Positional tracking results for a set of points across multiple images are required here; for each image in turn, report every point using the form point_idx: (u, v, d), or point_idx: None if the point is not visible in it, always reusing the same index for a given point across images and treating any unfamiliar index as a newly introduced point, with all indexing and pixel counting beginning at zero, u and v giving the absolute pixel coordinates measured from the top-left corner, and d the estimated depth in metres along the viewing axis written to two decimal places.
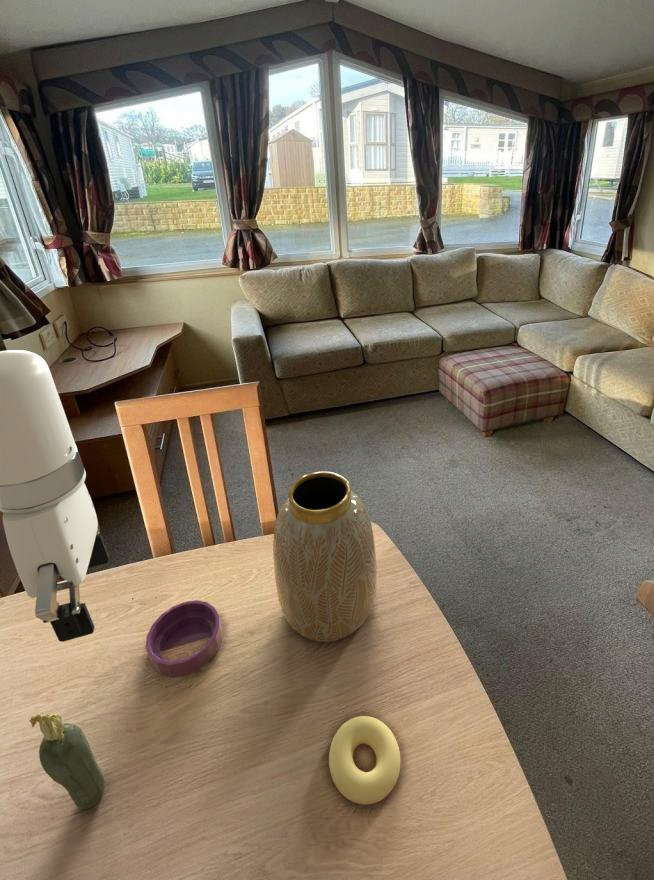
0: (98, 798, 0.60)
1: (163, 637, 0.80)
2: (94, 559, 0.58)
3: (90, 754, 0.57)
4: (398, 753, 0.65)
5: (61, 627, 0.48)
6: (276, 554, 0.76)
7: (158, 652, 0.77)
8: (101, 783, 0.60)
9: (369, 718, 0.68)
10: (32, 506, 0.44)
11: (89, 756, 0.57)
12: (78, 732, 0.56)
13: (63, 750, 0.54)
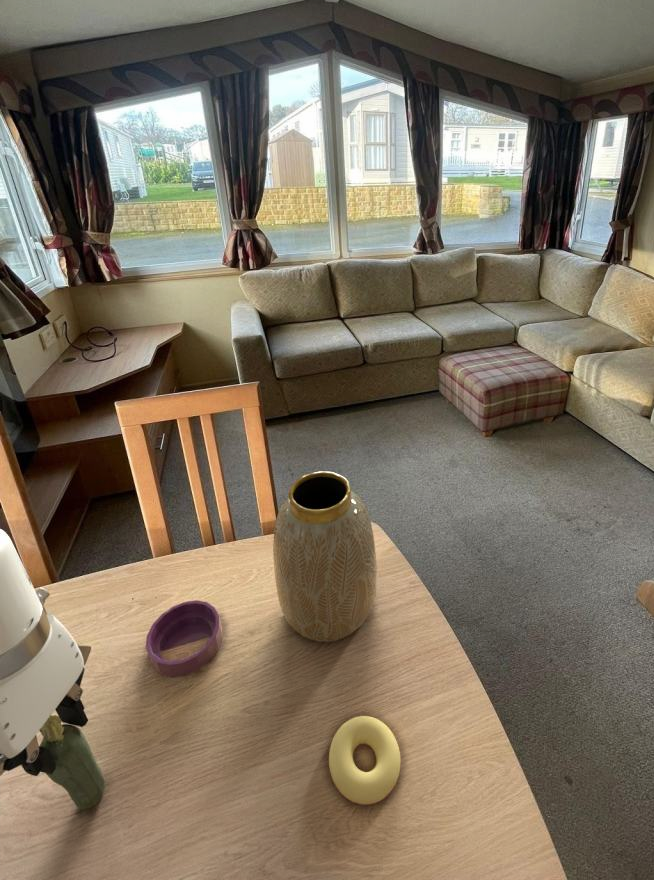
0: (98, 798, 0.60)
1: (163, 637, 0.80)
2: (72, 720, 0.56)
3: (90, 755, 0.57)
4: (398, 753, 0.65)
5: (22, 764, 0.51)
6: (276, 554, 0.76)
7: (158, 652, 0.77)
8: (101, 783, 0.60)
9: (369, 718, 0.68)
10: None
11: (89, 757, 0.57)
12: (77, 733, 0.56)
13: (62, 751, 0.54)
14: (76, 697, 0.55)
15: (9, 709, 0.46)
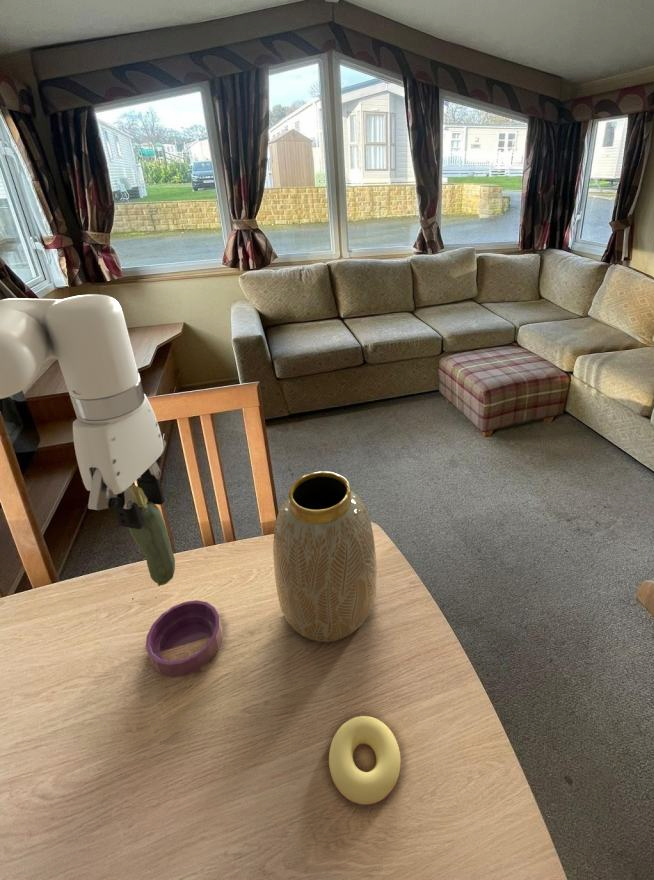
0: (170, 575, 0.72)
1: (163, 637, 0.80)
2: (152, 498, 0.68)
3: (166, 530, 0.69)
4: (398, 753, 0.65)
5: (118, 514, 0.62)
6: (276, 554, 0.76)
7: (158, 652, 0.77)
8: (173, 562, 0.71)
9: (369, 718, 0.68)
10: (90, 419, 0.55)
11: (165, 531, 0.68)
12: (157, 507, 0.67)
13: (147, 515, 0.65)
14: (156, 475, 0.67)
15: (116, 448, 0.57)
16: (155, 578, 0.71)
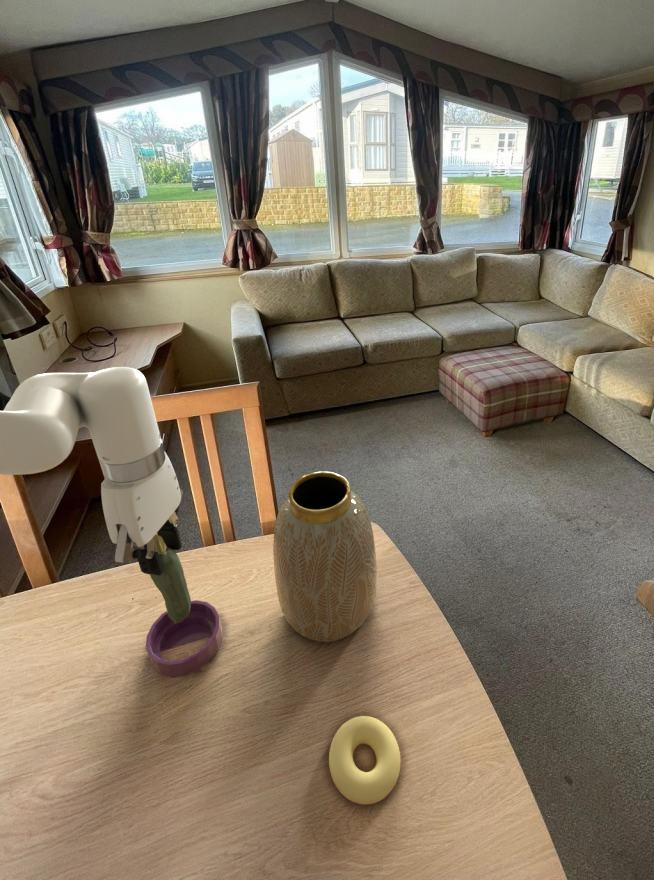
0: (187, 613, 0.77)
1: (163, 637, 0.80)
2: (170, 544, 0.73)
3: (183, 573, 0.74)
4: (398, 753, 0.65)
5: (140, 563, 0.68)
6: (276, 554, 0.76)
7: (158, 652, 0.77)
8: (189, 601, 0.77)
9: (369, 718, 0.68)
10: (117, 481, 0.61)
11: (183, 574, 0.74)
12: (175, 553, 0.72)
13: (166, 562, 0.70)
14: (175, 524, 0.72)
15: (141, 506, 0.62)
16: (172, 617, 0.76)
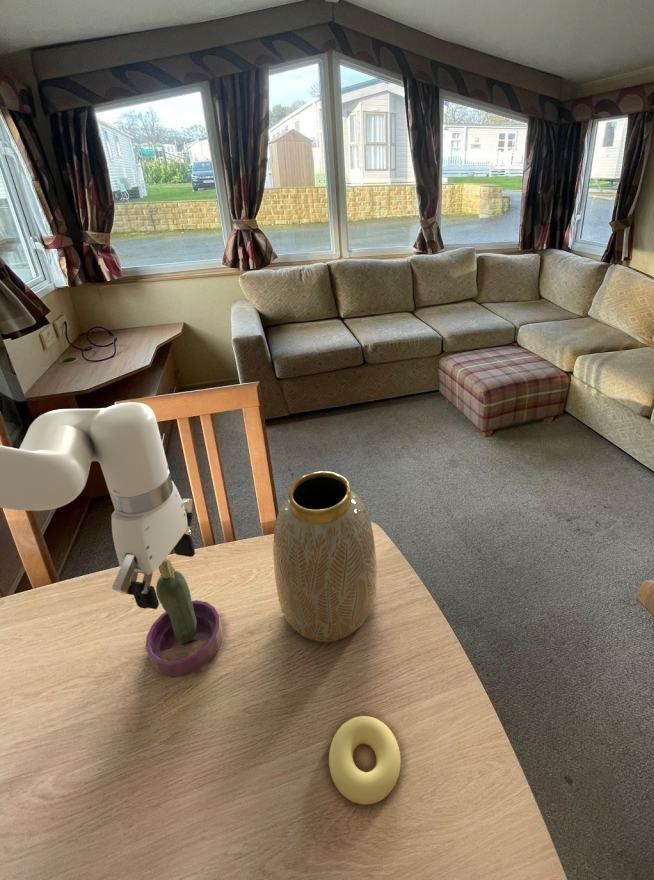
0: (193, 635, 0.79)
1: (163, 637, 0.80)
2: (184, 551, 0.77)
3: (190, 596, 0.76)
4: (398, 753, 0.65)
5: (136, 597, 0.67)
6: (276, 554, 0.76)
7: (158, 652, 0.77)
8: (195, 623, 0.79)
9: (369, 718, 0.68)
10: (127, 513, 0.63)
11: (189, 597, 0.76)
12: (183, 576, 0.75)
13: (174, 585, 0.73)
14: (189, 532, 0.76)
15: (149, 536, 0.65)
16: (179, 638, 0.78)
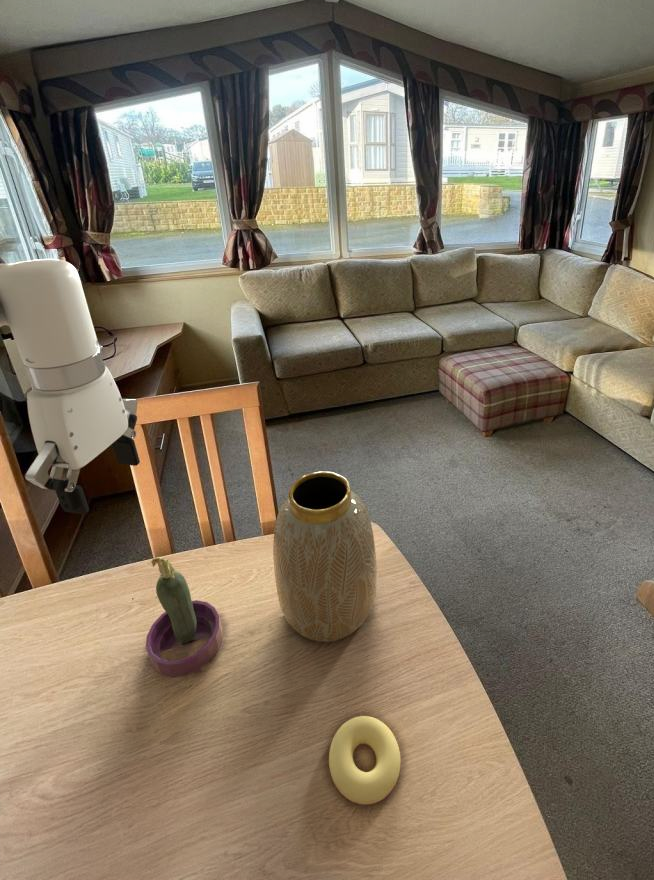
0: (193, 635, 0.79)
1: (163, 637, 0.80)
2: (127, 458, 0.67)
3: (190, 596, 0.76)
4: (398, 753, 0.65)
5: (60, 498, 0.57)
6: (276, 554, 0.76)
7: (158, 652, 0.77)
8: (195, 623, 0.79)
9: (369, 718, 0.68)
10: (45, 390, 0.53)
11: (189, 597, 0.76)
12: (183, 576, 0.75)
13: (174, 585, 0.73)
14: (131, 435, 0.66)
15: (73, 421, 0.55)
16: (179, 638, 0.78)
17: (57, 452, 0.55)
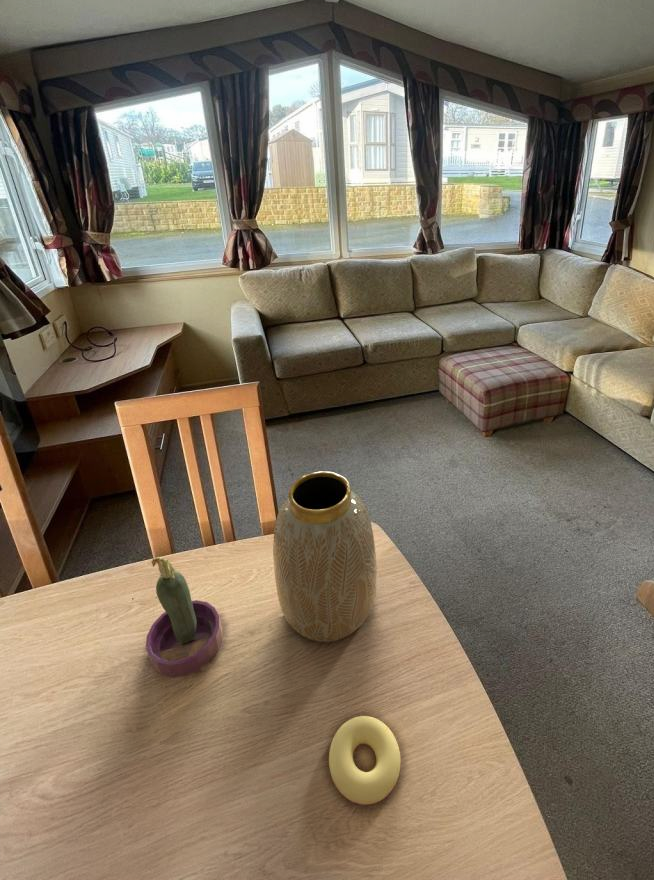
0: (193, 635, 0.79)
1: (163, 637, 0.80)
2: None
3: (190, 596, 0.76)
4: (398, 753, 0.65)
5: None
6: (276, 554, 0.76)
7: (158, 652, 0.77)
8: (195, 623, 0.79)
9: (369, 718, 0.68)
10: None
11: (189, 597, 0.76)
12: (183, 576, 0.75)
13: (174, 585, 0.73)
14: None
15: None
16: (179, 638, 0.78)
17: None
